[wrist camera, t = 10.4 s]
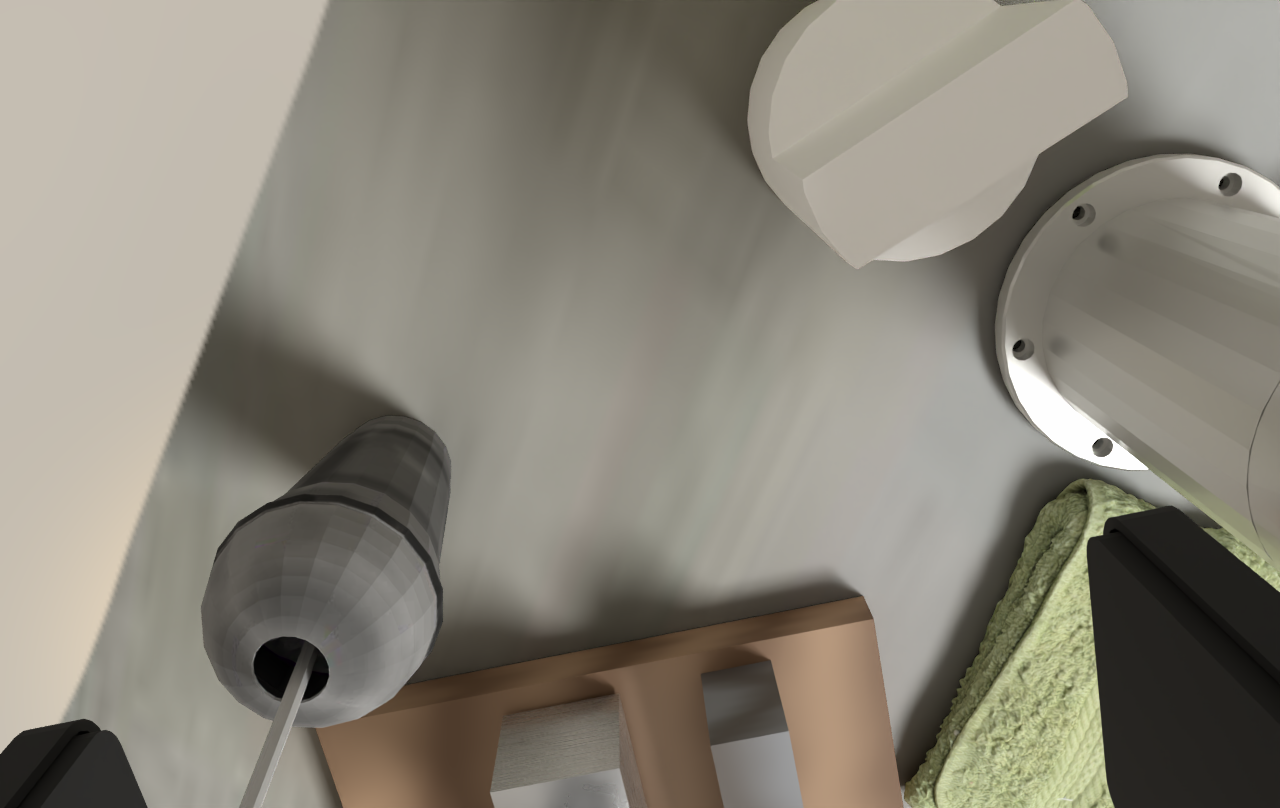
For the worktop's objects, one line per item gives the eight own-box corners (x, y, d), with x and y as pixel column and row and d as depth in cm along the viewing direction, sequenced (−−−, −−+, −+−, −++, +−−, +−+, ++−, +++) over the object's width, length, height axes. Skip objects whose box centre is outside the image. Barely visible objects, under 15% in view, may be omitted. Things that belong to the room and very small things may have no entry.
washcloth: (885, 791, 51) (902, 839, 48) (1052, 456, 46) (1083, 486, 43) (1134, 864, 53) (1166, 914, 49) (1322, 548, 47) (1371, 583, 44)
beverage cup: (471, 373, 44) (359, 623, 25) (497, 538, 46) (413, 883, 27) (291, 392, 44) (42, 656, 25) (326, 556, 46) (122, 912, 27)
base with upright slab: (824, 277, 43) (900, 360, 31) (701, 78, 40) (735, 90, 29) (1028, 147, 41) (1184, 185, 30) (912, -67, 39) (1035, -115, 28)
